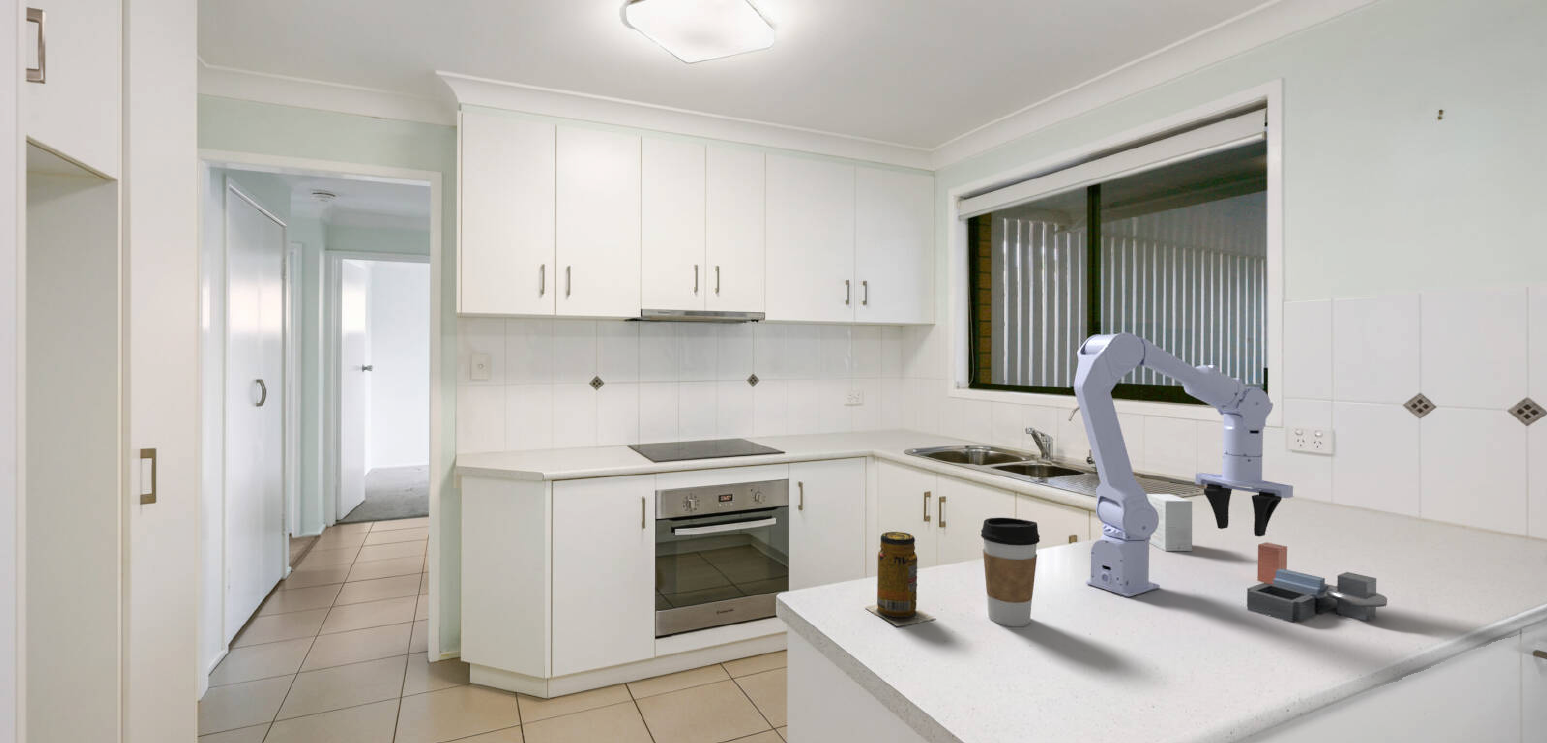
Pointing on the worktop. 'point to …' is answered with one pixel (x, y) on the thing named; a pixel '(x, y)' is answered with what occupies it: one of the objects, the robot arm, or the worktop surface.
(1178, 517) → the small box
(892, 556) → the condiment
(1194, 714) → the worktop surface
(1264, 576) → the reddish brown rectangular block
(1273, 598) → the grey socket with disc
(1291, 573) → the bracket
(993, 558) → the coffee cup
